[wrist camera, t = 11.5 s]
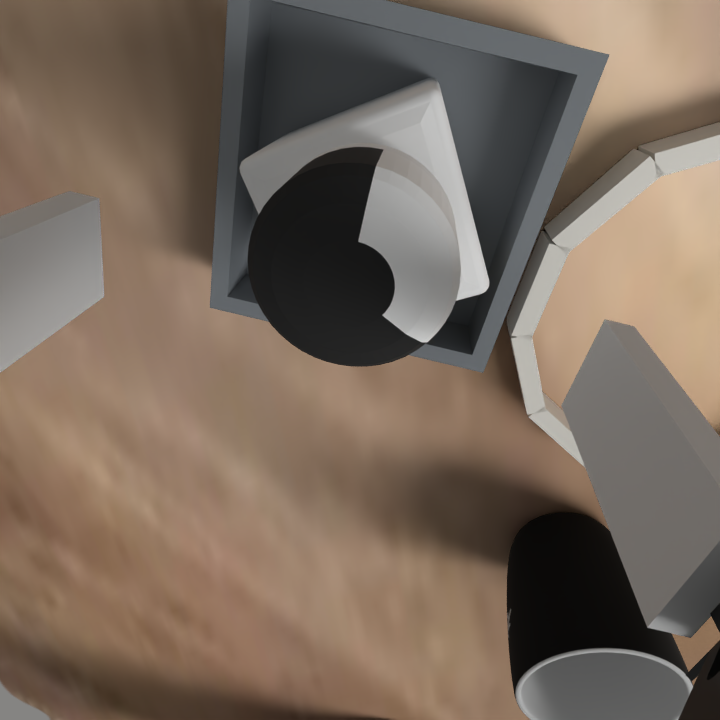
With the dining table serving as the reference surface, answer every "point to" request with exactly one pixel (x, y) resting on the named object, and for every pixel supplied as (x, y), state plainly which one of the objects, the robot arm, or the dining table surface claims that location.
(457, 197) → the medicine bottle
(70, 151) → the dining table surface
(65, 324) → the robot arm
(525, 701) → the mug
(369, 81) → the tray
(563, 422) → the ring holder
